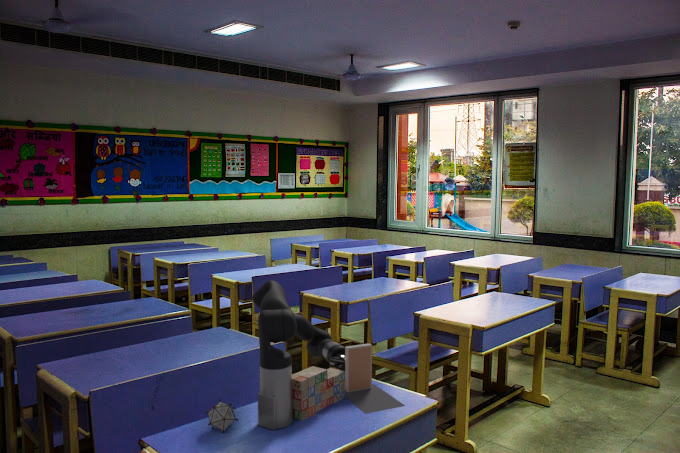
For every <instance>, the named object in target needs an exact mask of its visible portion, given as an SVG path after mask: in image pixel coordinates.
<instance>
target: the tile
mask: <svg viewBox="0 0 680 453" xmlns="http://www.w3.org/2000/svg"><path fill="white" fill-rule="evenodd" d="M344 347H345V369H344V371H345V384H346V389H345V391H347V392H353V391H359V390H364V389H370V388H372V384H373V383H372V382H373V378H372V376H373V373H372V371H373V370H372V369H373V366H372V365H373V364H372V363H373V359H372V358H373V355H372V352H373V351H372V348H373V346H372V343H363V344H356V345H348V346H344Z"/></svg>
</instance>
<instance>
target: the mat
mask: <svg viewBox="0 0 680 453" xmlns="http://www.w3.org/2000/svg"><path fill="white" fill-rule="evenodd" d="M345 399H347V400H348V401H350V402H351V403H352V405H354V406H356V408H358V409H359V410H360V411H362V412H363V413H364V414H365V415H367V414H370V413H376V412H381V411H386V410H391V409H396V408H400V407H406V405H405V404H404V403H402V402H401V401H400V400H398V399H396V398H395V397H393V396H392V395H390V394H389V393H388V392H386V391H385V390H384V389H382V388H380V387H379V386H377V385H376V384H375V383H372V388H370V389H364V390H359V391H353V392H347V391H345Z"/></svg>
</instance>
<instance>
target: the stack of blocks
mask: <svg viewBox="0 0 680 453" xmlns="http://www.w3.org/2000/svg"><path fill="white" fill-rule="evenodd" d="M345 389H346V384H345V370H342V369H338V368H334V367H329V368H327V369H326V368H321V367H318V366H315V365H314V366H313V365H312V366H309V367H307V368H305V369H302V370H300V371H298V372H295V373H292V419H295V420H297V421H304V420H306V419H309V418H312V416H314V415H317V414H318V412H319V411H322V409H325V408H326V407H327V408H328V406H330V405H332V404H336V403H339V402H340V401H341V400H343V399H346V397H345Z"/></svg>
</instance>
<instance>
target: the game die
mask: <svg viewBox="0 0 680 453" xmlns="http://www.w3.org/2000/svg"><path fill="white" fill-rule="evenodd" d="M232 404H233V403H232V402H230V403H229V404H228V403H225V402H223V401H222V400H221V398H219V399H218V402H217V404H215V405H212V408H211V409H210V410H209V411H207V410H206V411H205V414H208V415H207V416H208V419H209V423H208V425H207V426H210V425H211V426H212V427H211V430H213V429H217V430H220V431H222V434H224V435H225V431H226V430H227V429H228V428H229V427H231V425H232V423H234V422H235V421H239V419H238V418H236V416H235V411H234V410H235V408H236V407H234V406H233V407H232Z"/></svg>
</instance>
